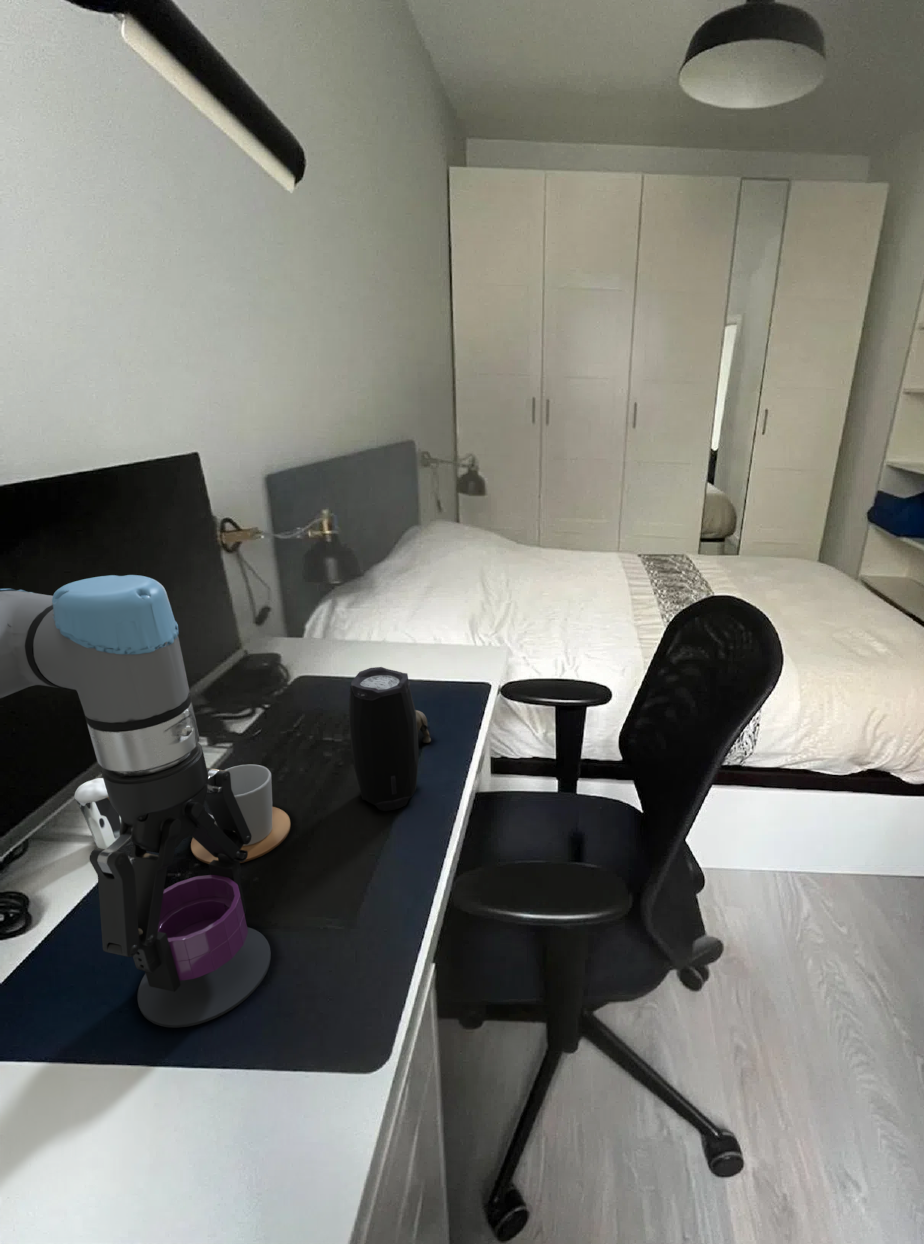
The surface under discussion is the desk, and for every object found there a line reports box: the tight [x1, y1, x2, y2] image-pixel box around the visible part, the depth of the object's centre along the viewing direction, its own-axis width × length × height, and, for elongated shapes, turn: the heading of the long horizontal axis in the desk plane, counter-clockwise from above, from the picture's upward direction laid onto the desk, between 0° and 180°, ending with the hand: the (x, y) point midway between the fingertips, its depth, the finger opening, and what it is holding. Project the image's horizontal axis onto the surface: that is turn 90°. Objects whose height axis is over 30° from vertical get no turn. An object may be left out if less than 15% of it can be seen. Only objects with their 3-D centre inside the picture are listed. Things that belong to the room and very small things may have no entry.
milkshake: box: [74, 777, 121, 849], centre depth 81 cm, size 4×5×10 cm
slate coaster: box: [136, 926, 272, 1029], centre depth 65 cm, size 12×12×1 cm
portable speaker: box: [348, 666, 420, 812], centre depth 90 cm, size 9×9×20 cm
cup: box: [207, 764, 273, 846], centre depth 83 cm, size 8×10×8 cm
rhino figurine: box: [415, 709, 432, 744], centre depth 110 cm, size 4×14×6 cm, turn 62°
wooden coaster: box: [190, 806, 291, 865], centre depth 85 cm, size 12×12×1 cm
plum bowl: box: [158, 874, 248, 981], centre depth 62 cm, size 9×9×6 cm
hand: (201, 946), depth 63 cm, fingers closed on plum bowl, 9 cm apart
